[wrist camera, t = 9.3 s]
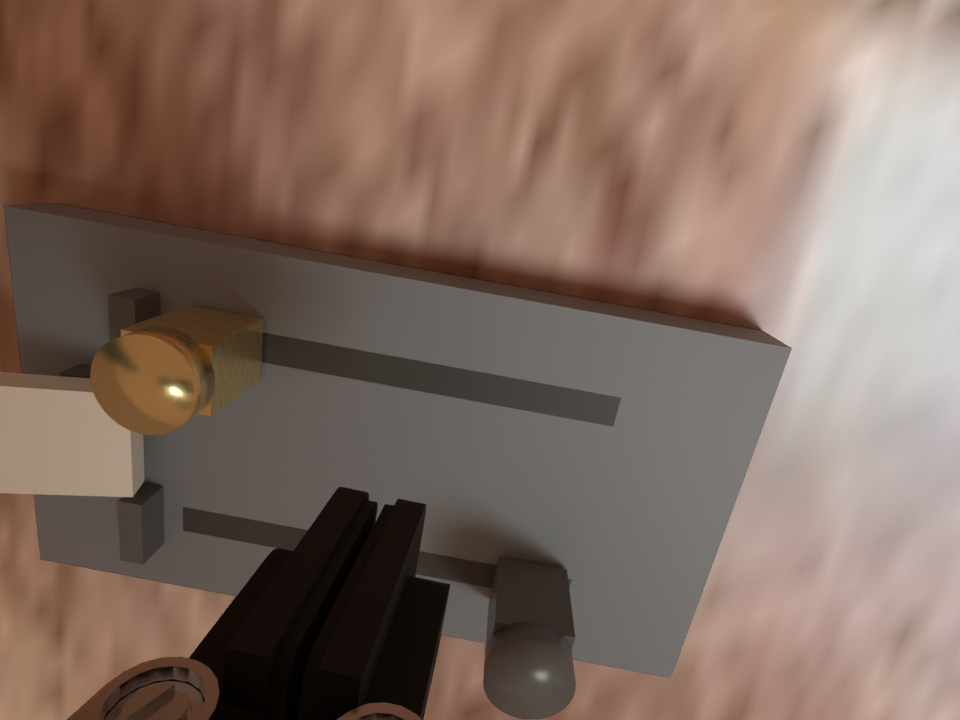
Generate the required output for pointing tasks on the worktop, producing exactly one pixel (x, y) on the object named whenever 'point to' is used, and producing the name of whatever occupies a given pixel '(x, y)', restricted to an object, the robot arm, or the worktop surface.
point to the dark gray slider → (529, 640)
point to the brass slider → (176, 368)
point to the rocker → (63, 440)
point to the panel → (409, 423)
